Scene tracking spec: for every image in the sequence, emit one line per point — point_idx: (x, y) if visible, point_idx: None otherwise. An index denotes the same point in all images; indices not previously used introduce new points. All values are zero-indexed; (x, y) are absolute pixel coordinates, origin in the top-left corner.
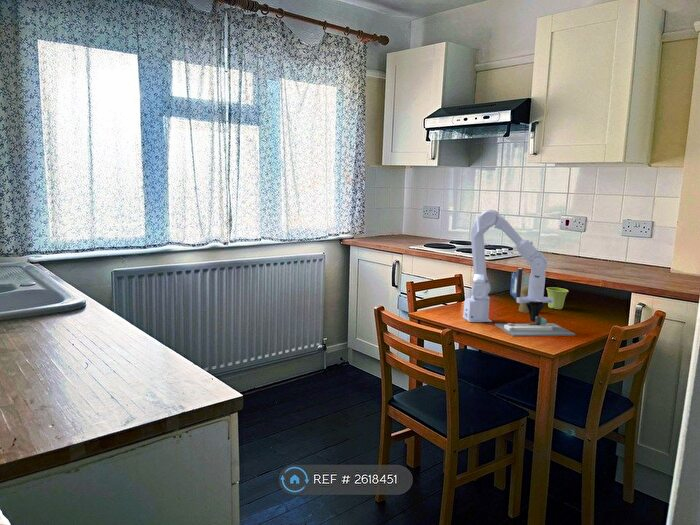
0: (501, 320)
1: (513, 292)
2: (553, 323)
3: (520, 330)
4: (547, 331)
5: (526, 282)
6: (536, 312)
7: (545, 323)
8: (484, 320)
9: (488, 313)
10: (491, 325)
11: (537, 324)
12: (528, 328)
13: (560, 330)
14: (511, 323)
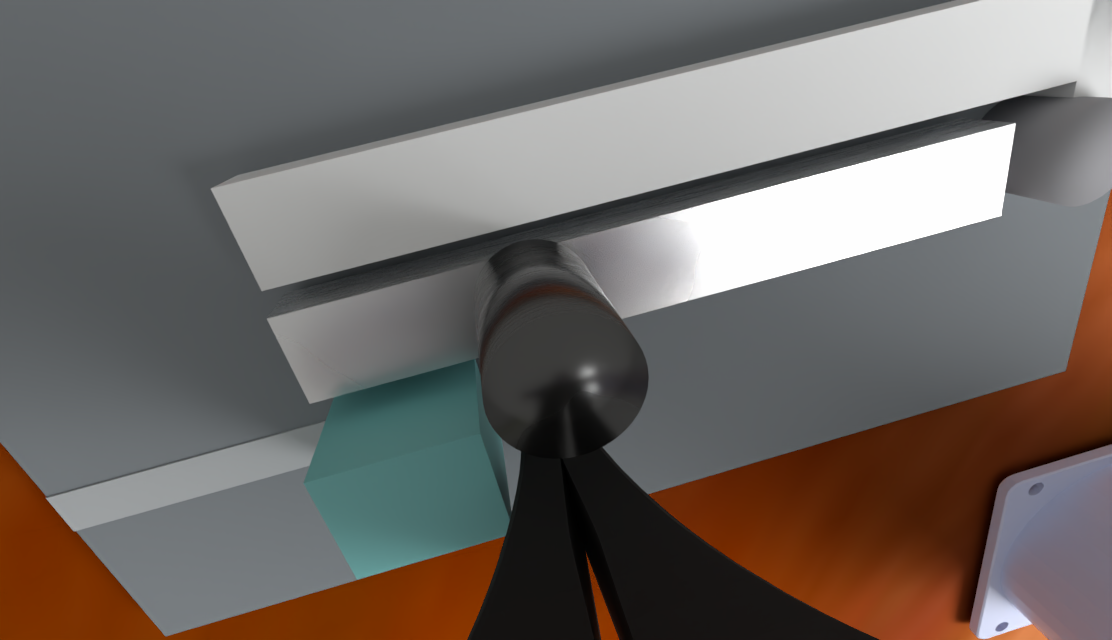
0: (835, 580)
1: None
2: (164, 625)
3: (919, 8)
4: (364, 64)
5: None
6: (579, 577)
7: (338, 424)
8: (1096, 472)
9: (1089, 599)
10: (1089, 336)
11: (555, 246)
12: (784, 47)
13: (43, 217)
14: (1058, 191)
